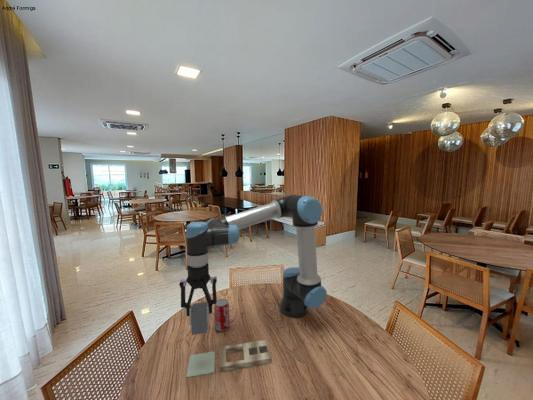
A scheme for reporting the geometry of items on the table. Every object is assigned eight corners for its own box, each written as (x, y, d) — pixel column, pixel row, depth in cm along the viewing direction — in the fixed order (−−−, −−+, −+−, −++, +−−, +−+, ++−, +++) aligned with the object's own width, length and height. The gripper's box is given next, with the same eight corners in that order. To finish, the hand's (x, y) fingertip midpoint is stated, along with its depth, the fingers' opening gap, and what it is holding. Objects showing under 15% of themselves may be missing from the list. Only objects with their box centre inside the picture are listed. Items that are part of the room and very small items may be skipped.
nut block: (207, 323, 87) (207, 302, 86) (207, 332, 82) (206, 310, 81) (193, 325, 86) (192, 303, 85) (191, 334, 80) (190, 312, 80)
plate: (266, 344, 95) (266, 339, 95) (271, 362, 86) (271, 358, 85) (219, 351, 91) (219, 346, 91) (219, 372, 82) (219, 367, 81)
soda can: (226, 333, 102) (225, 307, 101) (212, 331, 104) (211, 305, 102) (231, 323, 109) (231, 299, 108) (218, 321, 110) (217, 297, 109)
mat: (215, 352, 91) (214, 351, 91) (214, 373, 81) (214, 372, 81) (190, 356, 89) (190, 355, 89) (186, 378, 79) (186, 377, 79)
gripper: (223, 258, 87) (224, 313, 89) (173, 261, 83) (176, 319, 85) (223, 265, 79) (224, 325, 82) (169, 270, 76) (172, 332, 78)
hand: (199, 321), depth 83 cm, fingers closed on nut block, 5 cm apart
